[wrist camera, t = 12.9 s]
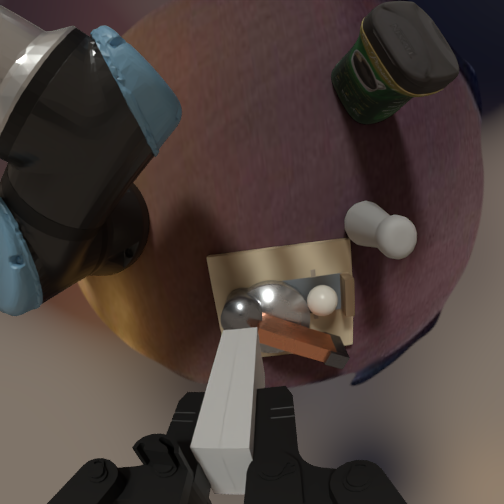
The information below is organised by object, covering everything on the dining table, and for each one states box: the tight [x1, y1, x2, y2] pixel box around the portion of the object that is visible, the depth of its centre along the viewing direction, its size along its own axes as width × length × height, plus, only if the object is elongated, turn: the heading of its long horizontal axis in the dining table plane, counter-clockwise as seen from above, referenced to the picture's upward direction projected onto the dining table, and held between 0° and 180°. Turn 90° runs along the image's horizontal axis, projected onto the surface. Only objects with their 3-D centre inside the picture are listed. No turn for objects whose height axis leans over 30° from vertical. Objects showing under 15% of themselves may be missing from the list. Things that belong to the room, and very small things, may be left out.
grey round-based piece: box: [220, 280, 349, 369], centre depth 35 cm, size 10×16×7 cm, turn 69°
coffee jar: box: [331, 1, 459, 124], centre depth 24 cm, size 10×8×19 cm
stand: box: [207, 238, 355, 357], centre depth 38 cm, size 19×16×4 cm
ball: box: [307, 285, 338, 316], centre depth 36 cm, size 4×4×4 cm
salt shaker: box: [345, 201, 417, 259], centre depth 30 cm, size 6×6×13 cm
